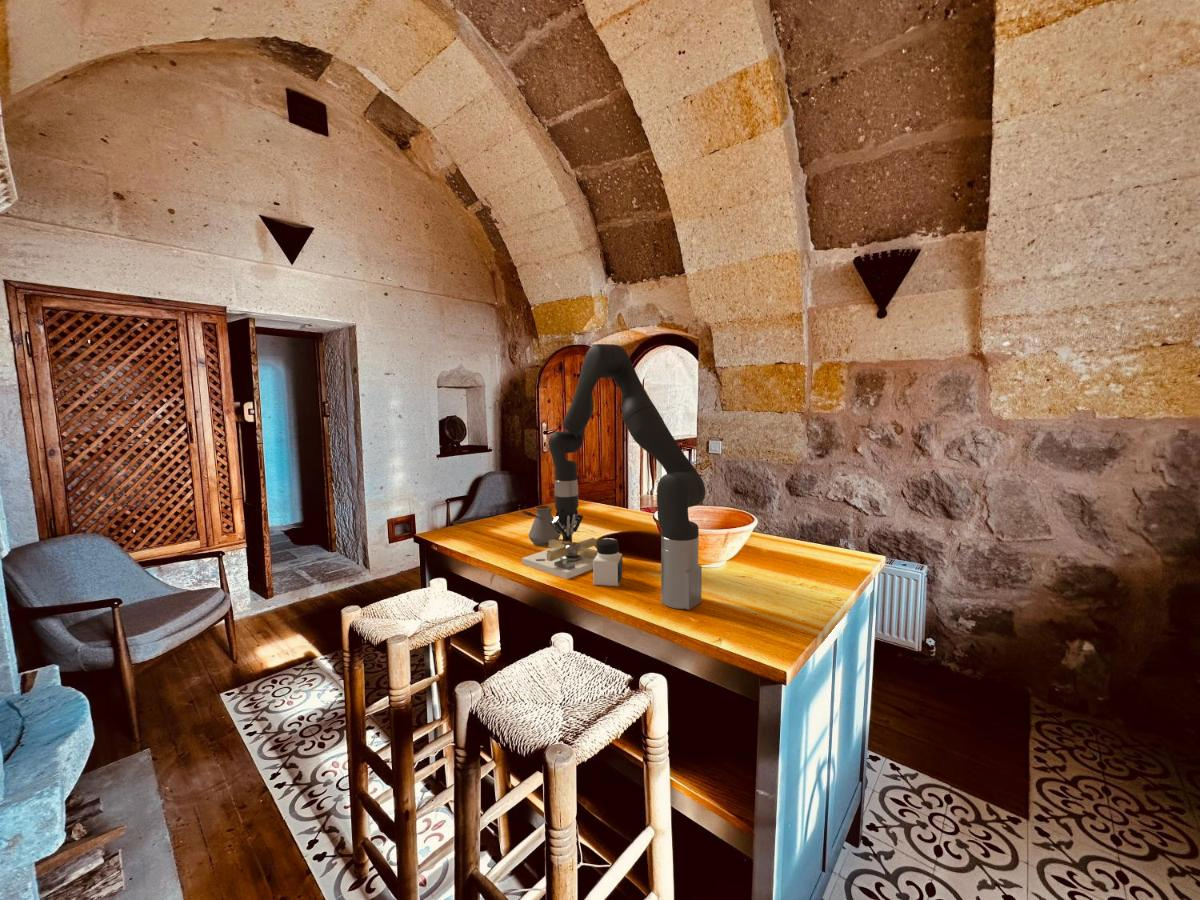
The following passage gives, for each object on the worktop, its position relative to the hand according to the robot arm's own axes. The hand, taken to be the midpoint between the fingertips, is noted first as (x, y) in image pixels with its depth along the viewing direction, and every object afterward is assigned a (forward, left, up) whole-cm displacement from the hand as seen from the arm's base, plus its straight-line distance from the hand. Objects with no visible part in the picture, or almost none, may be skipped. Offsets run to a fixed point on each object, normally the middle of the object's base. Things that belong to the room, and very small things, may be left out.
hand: (567, 546), depth 159 cm
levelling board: (-3, +4, -4) cm, 6 cm away
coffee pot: (+17, -2, -4) cm, 18 cm away
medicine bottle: (-23, +7, -4) cm, 24 cm away
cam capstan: (-6, +4, -2) cm, 7 cm away
